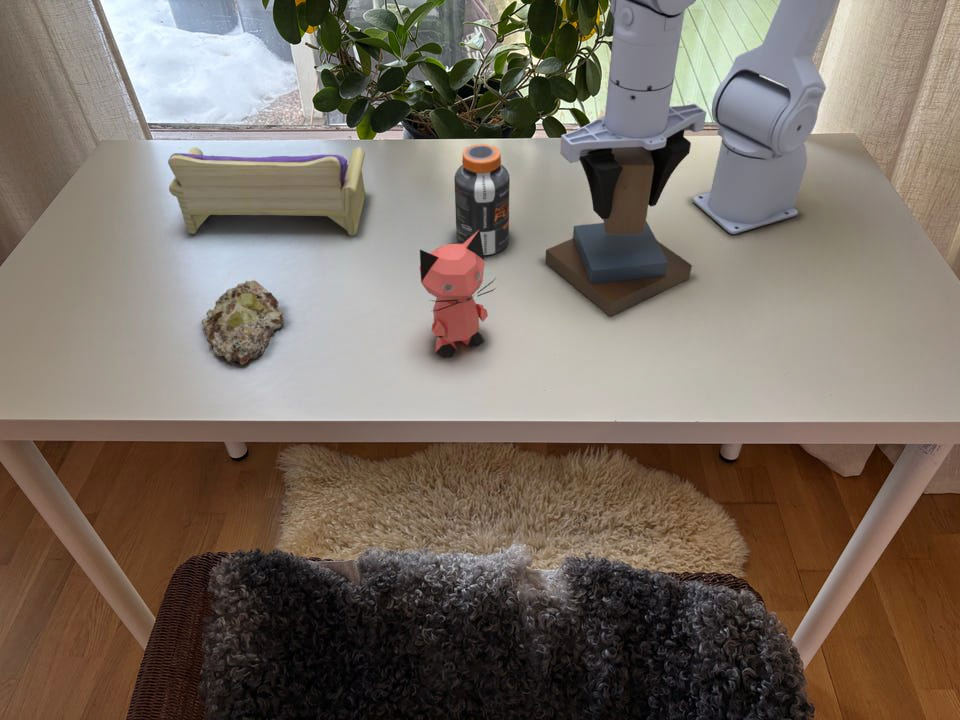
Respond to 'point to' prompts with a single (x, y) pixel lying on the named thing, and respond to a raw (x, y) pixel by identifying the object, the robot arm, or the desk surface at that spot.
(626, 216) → the wooden block
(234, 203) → the toy sofa
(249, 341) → the mineral rock
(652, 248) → the top tile
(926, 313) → the desk surface
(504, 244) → the pill bottle
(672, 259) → the base slab
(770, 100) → the robot arm
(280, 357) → the desk surface
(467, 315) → the cat figurine
